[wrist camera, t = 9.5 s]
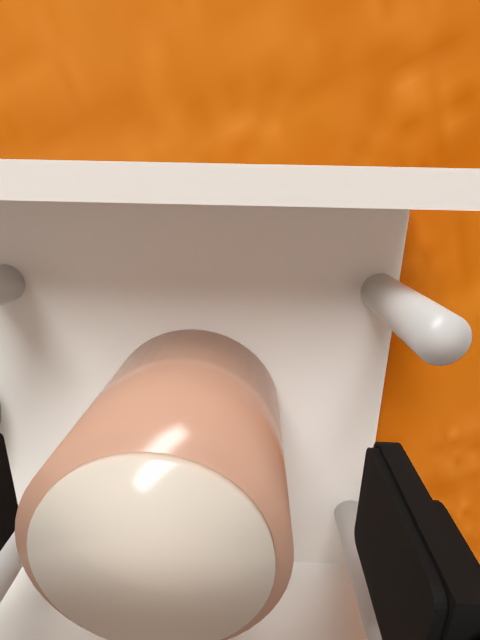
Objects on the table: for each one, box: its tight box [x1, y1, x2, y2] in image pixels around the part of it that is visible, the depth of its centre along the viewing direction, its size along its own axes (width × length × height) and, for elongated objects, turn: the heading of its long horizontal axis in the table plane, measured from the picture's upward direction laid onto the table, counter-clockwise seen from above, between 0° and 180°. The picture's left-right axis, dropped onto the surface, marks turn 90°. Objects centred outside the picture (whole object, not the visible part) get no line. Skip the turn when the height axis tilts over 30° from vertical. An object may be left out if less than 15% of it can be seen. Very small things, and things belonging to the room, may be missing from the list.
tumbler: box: [15, 329, 294, 640], centre depth 11 cm, size 6×6×6 cm
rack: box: [0, 159, 480, 640], centre depth 13 cm, size 21×16×6 cm
